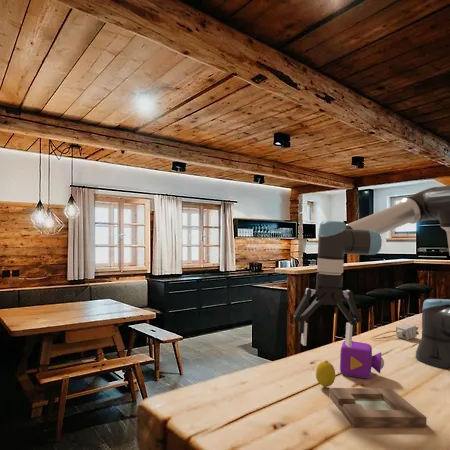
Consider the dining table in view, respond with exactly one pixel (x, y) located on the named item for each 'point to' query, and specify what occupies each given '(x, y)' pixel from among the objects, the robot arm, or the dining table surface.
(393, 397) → the pocket board
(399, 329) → the electrical component
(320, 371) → the lemon
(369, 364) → the toy camera
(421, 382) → the dining table surface
